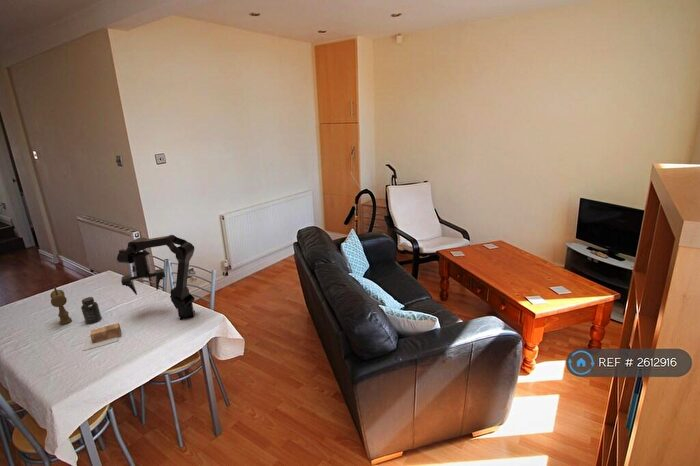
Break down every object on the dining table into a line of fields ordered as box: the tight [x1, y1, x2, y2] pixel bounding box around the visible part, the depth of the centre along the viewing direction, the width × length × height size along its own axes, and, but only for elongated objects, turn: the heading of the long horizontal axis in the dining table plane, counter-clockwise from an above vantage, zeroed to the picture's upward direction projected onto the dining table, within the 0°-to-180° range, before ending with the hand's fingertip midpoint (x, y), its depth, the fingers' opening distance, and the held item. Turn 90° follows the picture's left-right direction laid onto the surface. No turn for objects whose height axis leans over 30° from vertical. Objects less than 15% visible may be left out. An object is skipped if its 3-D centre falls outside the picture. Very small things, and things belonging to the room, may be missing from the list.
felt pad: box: [82, 335, 119, 352], centre depth 167 cm, size 13×12×1 cm
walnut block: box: [89, 322, 122, 343], centre depth 167 cm, size 4×4×11 cm
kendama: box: [50, 286, 73, 325], centre depth 179 cm, size 6×10×20 cm, turn 41°
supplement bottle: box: [80, 296, 102, 325], centre depth 181 cm, size 7×7×12 cm
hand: (146, 292), depth 184 cm, fingers open, 9 cm apart
